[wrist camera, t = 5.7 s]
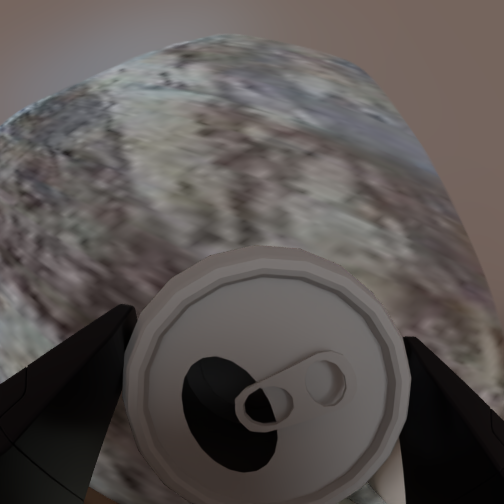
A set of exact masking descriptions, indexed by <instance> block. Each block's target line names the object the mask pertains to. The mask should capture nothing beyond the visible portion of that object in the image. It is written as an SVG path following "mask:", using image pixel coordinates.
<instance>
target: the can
mask: <svg viewBox="0 0 504 504" xmlns="http://www.w3.org/2000/svg"><path fill="white" fill-rule="evenodd" d="M410 386H411V374H410V369H409V364H408V359H407V355H406V350H405V346H404V341H403V338H402V336H401V334H400V333H399V331H398V329H397V327H396V326H395V324H394V322H393V321H392V319H391V317H390V316H389V314H388V312H387V311H386V309H385V307H384V306H383V304H382V303H381V302H380V301H379V300H378V299H377V298H376V297H375V295H374V293H373V292H372V291H370V290H369V289H368V288H367V287H366V286H365V285H363V284H362V283H361V282H360V281H359V280H358V279H356V278H355V277H354V276H353V275H352V274H350V273H349V272H348V271H347V270H346V269H344V268H343V267H342V266H341V265H339V264H336V263H334V262H331V261H329V260H326V259H324V258H322V257H319V256H317V255H314V254H312V253H309V252H307V251H304V250H302V249H297V248H284V247H272V246H259V245H253V246H249V247H245V248H240V249H236V250H232V251H227V252H223V253H219V254H214V255H210V256H208V257H207V258H205V259H203V260H202V261H200V262H198V263H196V264H195V265H193V266H191V267H190V268H188V269H186V270H185V271H183V272H181V273H180V274H178V275H176V276H175V277H173V278H171V279H170V280H169V281H168V282H167V283H166V285H165V286H164V287H163V288H162V289H161V290H160V291H159V293H158V294H157V295H156V296H155V297H154V298H153V299H152V301H151V302H150V303H149V304H148V305H147V306H146V308H145V309H144V310H143V311H142V312H141V314H140V316H139V319H138V321H137V323H136V326H135V328H134V331H133V333H132V336H131V338H130V340H129V343H128V346H127V348H126V351H125V354H124V366H123V389H122V398H123V401H124V405H125V411H126V414H127V417H128V421H129V424H130V427H131V430H132V433H133V436H134V439H135V442H136V445H137V448H138V451H139V452H140V453H141V455H142V456H143V458H144V459H145V460H146V462H147V463H148V464H149V466H150V467H151V468H152V470H153V471H154V472H155V473H156V475H157V476H158V477H159V479H160V480H161V481H162V482H163V484H164V485H166V486H167V487H168V488H170V489H171V490H173V491H174V492H175V493H177V494H178V495H180V496H181V497H183V498H184V499H186V500H187V501H189V502H190V503H192V504H337V503H339V502H340V501H342V500H343V499H345V498H347V497H348V496H350V495H351V494H353V493H354V492H356V491H357V490H359V489H360V488H362V487H363V486H364V485H365V484H366V483H367V482H368V480H369V479H370V478H371V477H372V476H373V475H374V474H375V473H376V472H377V470H378V469H379V468H380V467H381V466H382V465H383V463H384V462H385V461H386V460H387V459H388V457H389V456H390V455H391V452H392V450H393V448H394V446H395V444H396V442H397V440H398V437H399V435H400V433H401V431H402V428H403V426H404V424H405V421H406V419H407V413H408V405H409V396H410Z"/></svg>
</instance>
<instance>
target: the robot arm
mask: <svg viewBox="0 0 504 504" xmlns="http://www.w3.org/2000/svg"><path fill="white" fill-rule="evenodd" d="M136 323H137V316H136V310H135V308H134V307H133V306H131V305H125V304H119V305H118V306H116V307H115V308H113V309H111V310H110V311H108V312H107V313H105V314H104V315H102V316H101V317H99V318H98V319H96V320H95V321H93V322H92V323H90V324H89V325H87V326H86V327H84V328H83V329H81V330H80V331H78V332H77V333H75V334H74V335H72V336H71V337H69V338H68V339H66V340H65V341H63V342H62V343H60V344H59V345H57V346H56V347H54V348H53V349H51V350H50V351H48V352H47V353H45V354H44V355H43V356H41V357H40V358H38V359H37V360H35V361H34V362H32V363H31V364H29V365H28V367H25V368H24V369H22V370H21V371H19V372H18V373H16V374H15V375H13V376H12V377H10V378H9V379H7V380H6V381H4V382H3V383H1V384H0V504H84V500H85V497H86V494H87V490H88V487H89V484H90V480H91V477H92V474H93V471H94V468H95V465H96V462H97V459H98V456H99V453H100V450H101V447H102V444H103V441H104V438H105V435H106V432H107V429H108V427H109V424H110V421H111V418H112V416H113V413H114V410H115V407H116V405H117V402H118V399H119V397H120V394H121V392H122V389H123V366H124V354H125V351H126V348H127V346H128V343H129V340H130V338H131V336H132V333H133V331H134V328H135V326H136ZM403 341H404V346H405V350H406V355H407V359H408V364H409V369H410V374H411V386H410V396H409V405H408V413H407V419H406V421H405V424H404V426H403V428H402V431H401V433H400V435H399V441H400V449H401V457H402V466H403V475H404V486H405V500H406V504H504V421H503V420H502V419H501V418H500V417H499V416H498V415H497V414H496V413H495V412H494V411H493V410H492V409H490V407H489V406H488V405H487V404H486V403H485V402H484V401H483V400H482V399H481V398H480V397H479V396H478V395H477V394H476V393H475V392H474V391H473V390H472V389H471V388H470V387H469V386H468V385H467V384H466V383H465V382H464V381H463V380H462V379H461V378H460V377H458V376H457V375H456V374H455V373H454V372H453V371H452V370H451V369H450V368H449V367H448V366H447V365H446V364H445V363H444V362H443V361H442V360H440V359H439V358H438V357H437V356H436V355H435V354H434V353H433V352H432V351H431V350H430V349H429V348H427V347H426V346H425V345H424V344H423V343H422V342H421V341H420V340H419V339H418V338H416V337H408V336H405V337H403Z"/></svg>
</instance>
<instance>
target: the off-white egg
mask: <svg viewBox="0 0 504 504" xmlns="http://www.w3.org/2000/svg"><path fill="white" fill-rule="evenodd" d="M368 483H369V485H370V486H371V487H372V488H373V489H374V491H375V492H376V493H377V494H378V495H379V496H380V497H381V498H382V499H383V500H384V501H385V502H386V503H387V504H406V500H405V486H404V475H403V466H402V457H401V449H400V441H399V437H398V440H397V442H396V444H395V446H394V448H393V450H392V452H391V455H390V456H389V457H388V459H387V460H386V461H385V462H384V463H383V465H382V466H381V467H380V468H379V469H378V470H377V472H376V473H375V474H374V475H373V476H372V477H371V478H370V479H369V480H368Z"/></svg>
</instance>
